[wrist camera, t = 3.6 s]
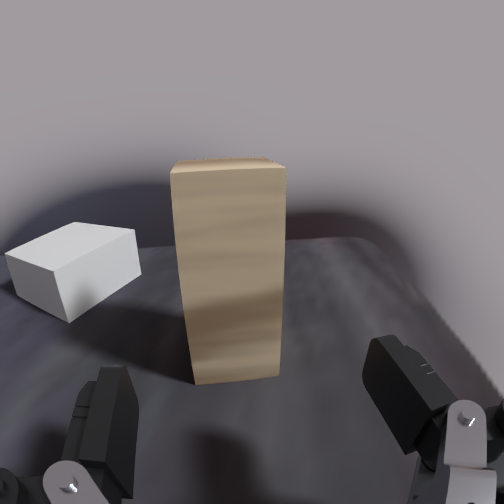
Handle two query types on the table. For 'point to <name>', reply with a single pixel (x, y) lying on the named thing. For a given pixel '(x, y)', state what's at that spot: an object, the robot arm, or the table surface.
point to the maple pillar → (231, 264)
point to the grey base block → (74, 267)
